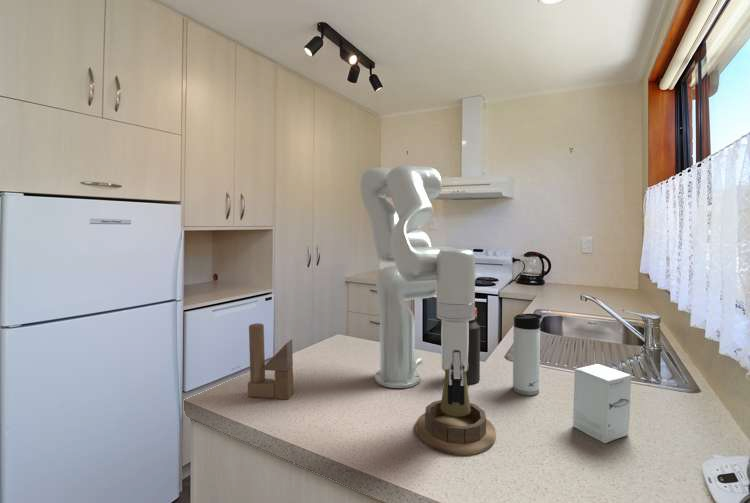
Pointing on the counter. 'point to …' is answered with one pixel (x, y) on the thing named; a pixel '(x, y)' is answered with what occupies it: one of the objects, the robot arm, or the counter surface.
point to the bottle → (473, 352)
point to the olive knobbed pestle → (455, 407)
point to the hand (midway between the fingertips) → (455, 397)
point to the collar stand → (455, 431)
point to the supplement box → (602, 402)
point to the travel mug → (526, 353)
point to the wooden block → (269, 368)
